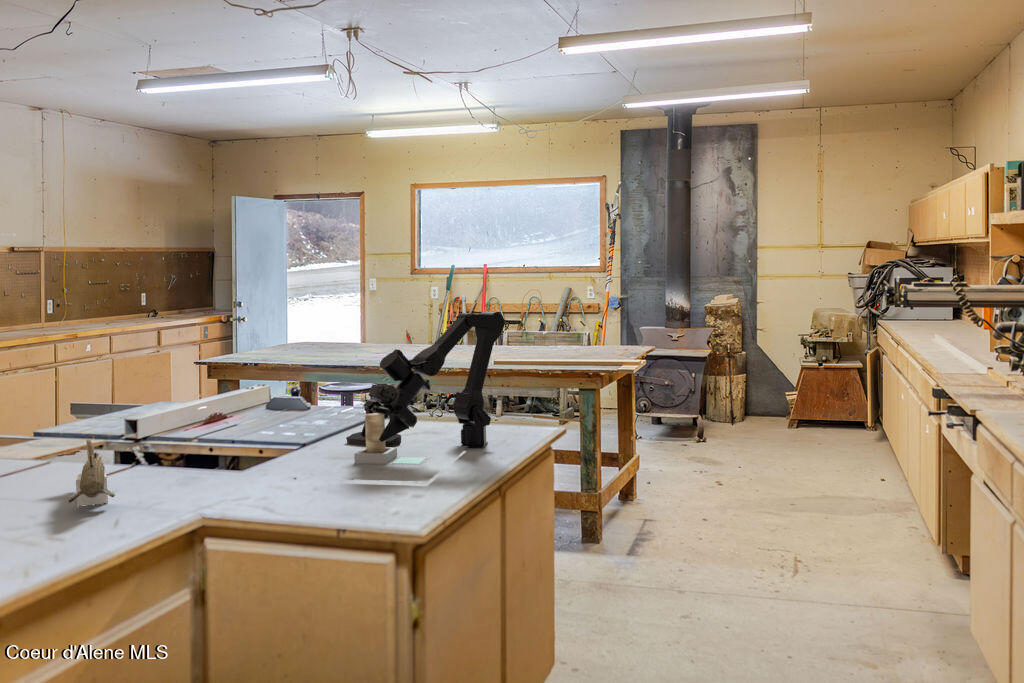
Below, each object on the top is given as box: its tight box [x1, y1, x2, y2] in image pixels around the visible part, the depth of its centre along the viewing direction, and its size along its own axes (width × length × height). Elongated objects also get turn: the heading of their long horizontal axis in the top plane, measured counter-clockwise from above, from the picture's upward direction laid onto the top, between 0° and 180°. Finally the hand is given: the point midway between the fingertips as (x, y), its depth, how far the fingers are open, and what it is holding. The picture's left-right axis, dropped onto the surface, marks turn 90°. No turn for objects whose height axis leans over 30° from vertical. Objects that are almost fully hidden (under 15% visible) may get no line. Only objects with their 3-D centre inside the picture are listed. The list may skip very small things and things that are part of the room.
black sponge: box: [345, 431, 402, 447], centre depth 239 cm, size 16×8×4 cm, turn 61°
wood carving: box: [68, 438, 116, 506], centre depth 185 cm, size 9×35×11 cm, turn 27°
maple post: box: [364, 413, 386, 453], centre depth 216 cm, size 5×5×12 cm
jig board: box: [353, 446, 431, 466], centre depth 216 cm, size 18×9×4 cm, turn 79°
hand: (371, 438), depth 215 cm, fingers open, 9 cm apart
